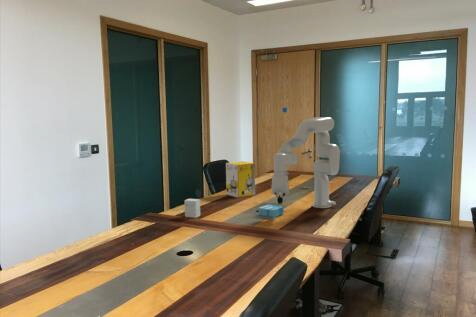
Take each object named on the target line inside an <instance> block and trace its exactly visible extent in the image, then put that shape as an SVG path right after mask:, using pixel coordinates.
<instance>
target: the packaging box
mask: <svg viewBox="0 0 476 317" xmlns="http://www.w3.org/2000/svg"><path fill="white" fill-rule="evenodd" d="M225 180H226V181H225V186H226V187H225V188H226V190H225V191H226V195H228V196H231V197H234V198H237V199H239V198H244V197H250V196H256V163H255V162H250V161H243V160H242V161H232V162H231V161H230V162H226V163H225Z"/></svg>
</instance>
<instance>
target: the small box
mask: <svg viewBox="0 0 476 317" xmlns="http://www.w3.org/2000/svg"><path fill="white" fill-rule="evenodd" d="M183 201H184V216H185V218H198V217H200V216H201V199H199V198H187V199H185V200H183Z"/></svg>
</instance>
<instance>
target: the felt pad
mask: <svg viewBox="0 0 476 317" xmlns="http://www.w3.org/2000/svg"><path fill="white" fill-rule="evenodd" d="M252 218H254V219H256V218H257V219H266V220H275V219H276V217H268V216H262V215H259V212H257V213H256V214H255V215H254V216H253V217H252Z"/></svg>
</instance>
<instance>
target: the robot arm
mask: <svg viewBox="0 0 476 317" xmlns="http://www.w3.org/2000/svg"><path fill="white" fill-rule="evenodd" d="M334 128H335V120H334V119H333V118H332V117H330V116H329V117H328V116H327V117H325V116H323V117H321V116H319V117H318V116H317V117H312V118H310V119H309V118H307V119H306V118H305V119H304V120H302V121H301V122H300V124H299V126H298V128H297V130H296V131H295V133H294V135H293V136H292V137H290V138H289V139H288V140H286V142H284V143H283V144H282V145H281V146H280V148H279V149H278V151H277V152H276V153H274V154H273V175H272V180H271V194H272V195H275V196H276V198H277V199H276V200H277V204H278V205H282V204H283V202H284V200H283V199H284V197H285V196H286V195H287V196H288V195H289V194H290V192H289V190H290V185H289V184H290V183H289V176H288V175H289V174H290V173H289V172H288V171H287V165H288V166H289V165H290V166H291V165H292V166H293V165H296V164H297V163H298V162H299V155H298V154H297V153H295V152H292V150H294V149H296V148H299V147H302V146H303V145H305V144H306V143H307V141H308V139H309V138H310V136H311V134H312V133H315V137H316V147H315V148H316V150H315V153H316V156H317V157H319V158H323V159H317V160H315V161H314V162H313V164H312V168H313V169H312V170H313V175H314V176H313V177H314V201H313V202H314V203H312V204H311V206H312V207H313V208H317V209H328V208H331V207H332V205H334V206H335V205H337V204H336V201H333V200H330V178H329V176H336V175H338V173H339V171H340V161H341V160H340V158H341V157H340V156H341V155H340V154H341V151H340V147H339V146H338V145H337V144H334V143H330V141H331V140H330V139H331V138H330V133H329V131H332V130H333V129H334ZM324 158H325V159H324ZM328 175H329V176H328Z"/></svg>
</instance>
